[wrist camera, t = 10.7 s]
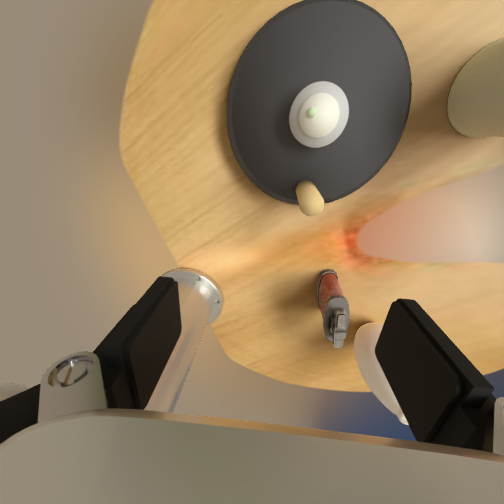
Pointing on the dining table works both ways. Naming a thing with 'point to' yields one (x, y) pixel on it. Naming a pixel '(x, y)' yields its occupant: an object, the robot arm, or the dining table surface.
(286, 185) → the wheel
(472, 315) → the dining table surface
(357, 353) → the sauce bottle
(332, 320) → the lighter
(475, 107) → the can
